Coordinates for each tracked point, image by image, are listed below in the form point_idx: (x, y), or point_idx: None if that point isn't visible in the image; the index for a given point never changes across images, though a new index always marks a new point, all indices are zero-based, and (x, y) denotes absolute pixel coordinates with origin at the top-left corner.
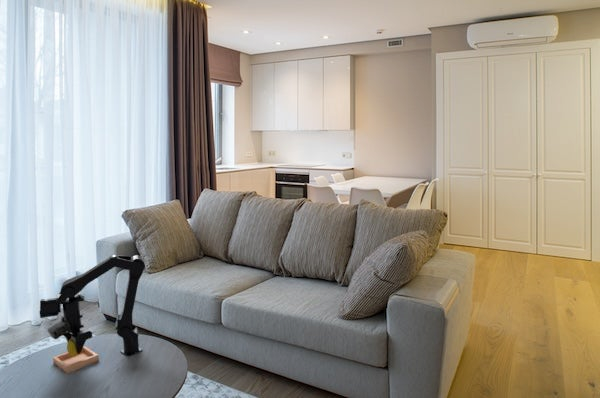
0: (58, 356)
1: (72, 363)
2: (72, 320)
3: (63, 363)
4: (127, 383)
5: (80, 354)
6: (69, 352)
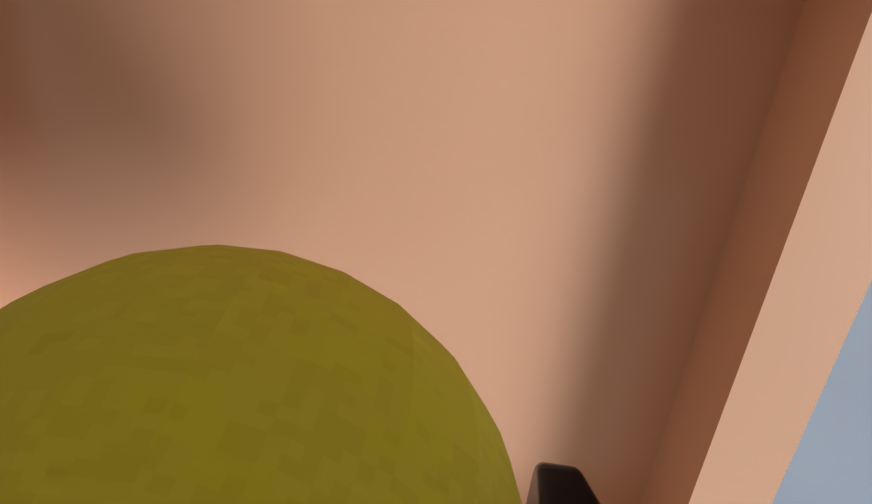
0: (868, 18)
1: (222, 104)
2: None
3: None
4: None
5: (542, 457)
6: (107, 268)
